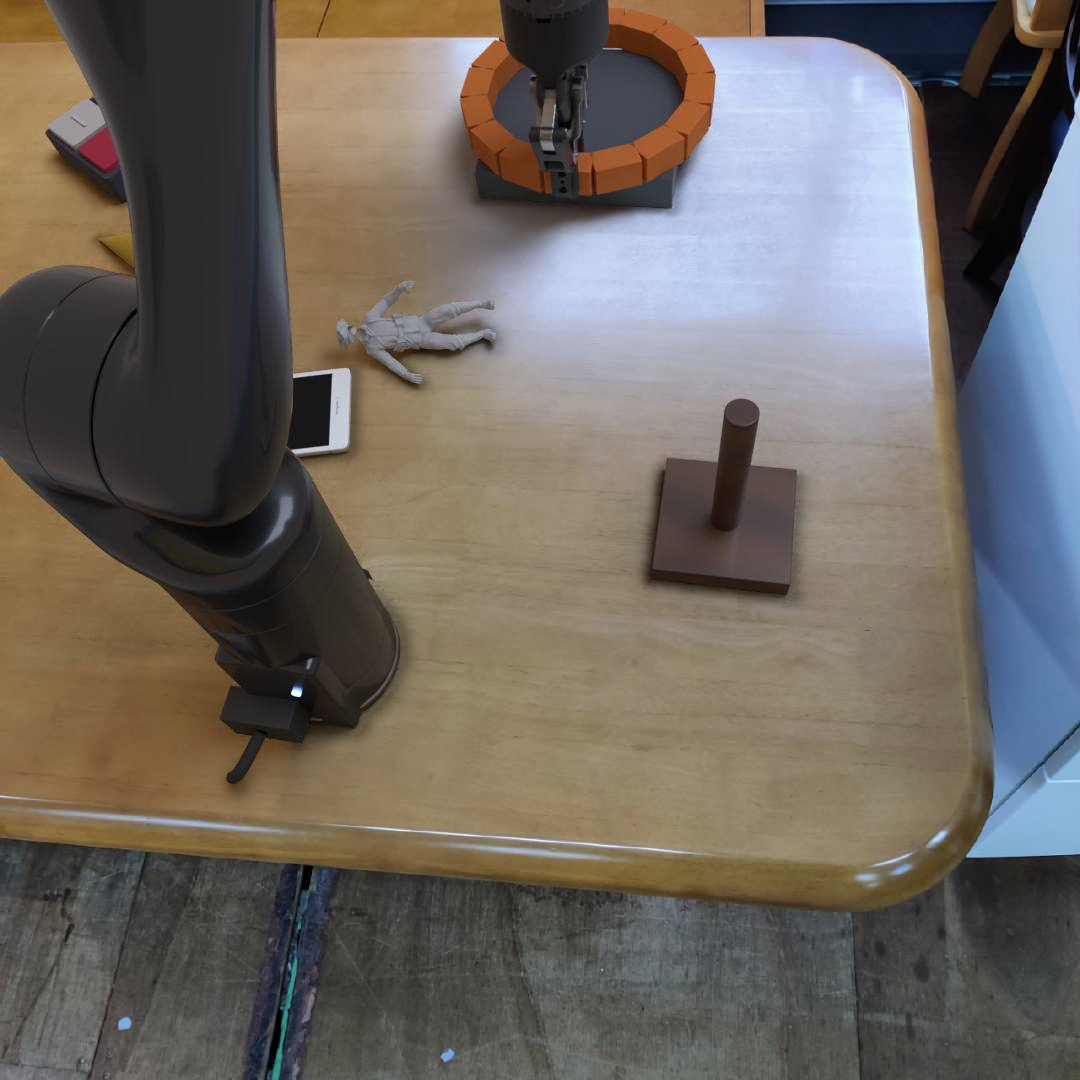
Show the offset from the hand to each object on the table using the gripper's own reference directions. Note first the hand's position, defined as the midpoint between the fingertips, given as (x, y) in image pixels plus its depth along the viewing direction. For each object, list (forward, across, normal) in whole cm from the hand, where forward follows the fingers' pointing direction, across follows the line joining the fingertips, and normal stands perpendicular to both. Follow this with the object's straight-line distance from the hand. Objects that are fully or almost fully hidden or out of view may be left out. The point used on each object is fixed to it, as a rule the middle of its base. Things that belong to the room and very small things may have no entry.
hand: (569, 182), depth 79 cm
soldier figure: (+3, +16, -10) cm, 19 cm away
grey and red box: (+3, -7, -42) cm, 43 cm away
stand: (+3, -10, 0) cm, 10 cm away
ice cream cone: (+3, +10, -34) cm, 35 cm away
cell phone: (+3, +25, -22) cm, 33 cm away
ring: (0, -10, 0) cm, 10 cm away
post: (+3, +30, +16) cm, 34 cm away
